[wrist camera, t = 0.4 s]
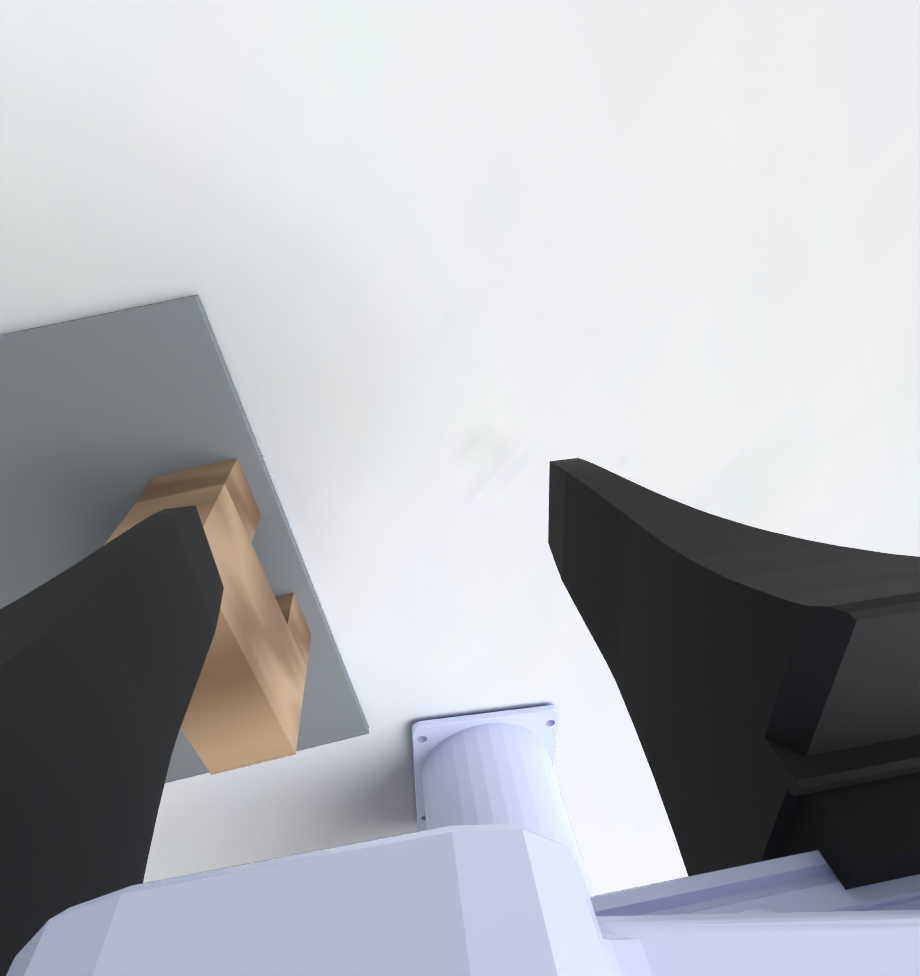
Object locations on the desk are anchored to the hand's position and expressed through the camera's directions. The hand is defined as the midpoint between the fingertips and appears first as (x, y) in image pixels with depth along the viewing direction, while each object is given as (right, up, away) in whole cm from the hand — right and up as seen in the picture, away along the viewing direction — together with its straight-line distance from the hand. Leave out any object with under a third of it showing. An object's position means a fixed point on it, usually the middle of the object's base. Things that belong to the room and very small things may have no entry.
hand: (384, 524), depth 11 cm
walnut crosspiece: (-7, -2, +11) cm, 13 cm away
